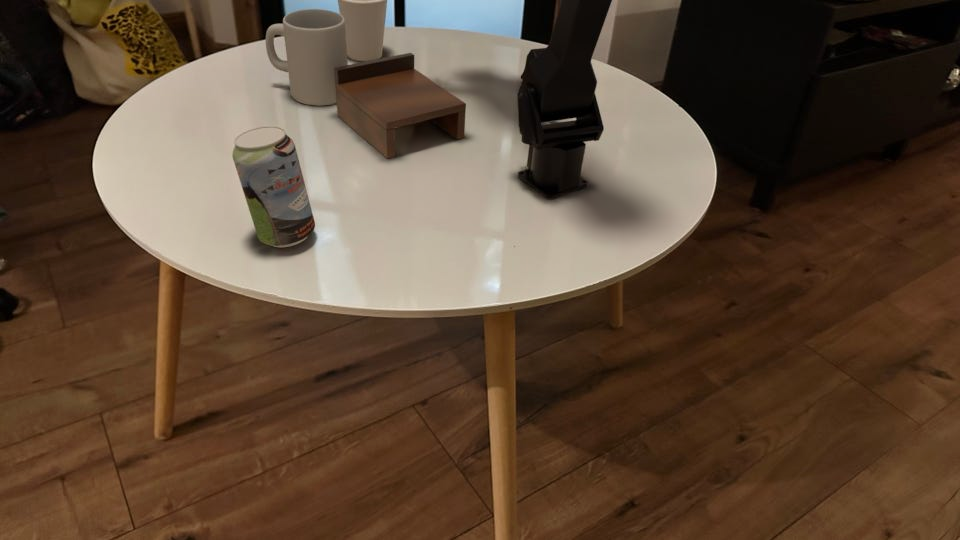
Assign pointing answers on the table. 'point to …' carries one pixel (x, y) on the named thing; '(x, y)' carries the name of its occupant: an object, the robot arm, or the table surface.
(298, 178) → the beverage can
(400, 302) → the table surface
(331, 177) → the table surface
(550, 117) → the robot arm
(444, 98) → the wooden riser stand
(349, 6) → the dixie cup
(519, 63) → the table surface
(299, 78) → the mug
